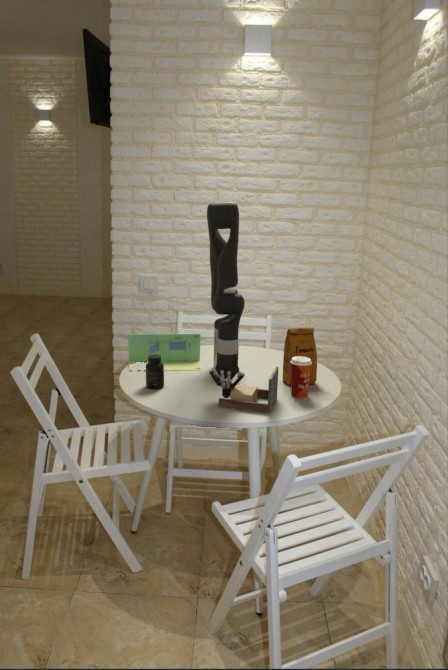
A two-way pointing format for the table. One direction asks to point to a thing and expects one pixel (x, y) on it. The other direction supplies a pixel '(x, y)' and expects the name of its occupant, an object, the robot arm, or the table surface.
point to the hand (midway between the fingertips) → (226, 397)
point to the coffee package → (300, 351)
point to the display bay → (261, 393)
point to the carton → (244, 393)
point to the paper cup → (300, 376)
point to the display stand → (166, 350)
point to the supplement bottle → (154, 372)
